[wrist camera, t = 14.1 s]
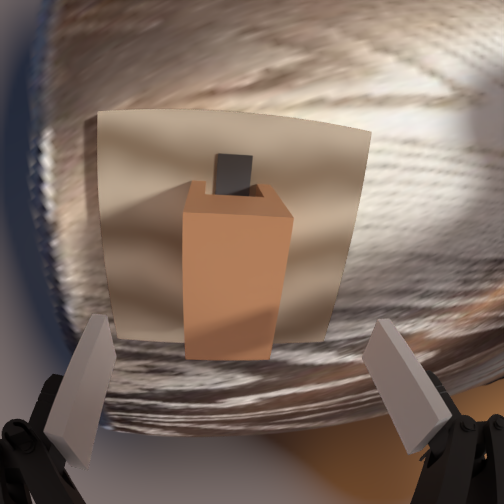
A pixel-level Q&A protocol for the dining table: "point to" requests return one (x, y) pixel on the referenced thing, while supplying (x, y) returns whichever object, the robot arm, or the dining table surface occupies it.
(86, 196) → the dining table surface
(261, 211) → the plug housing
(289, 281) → the board
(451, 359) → the dining table surface
